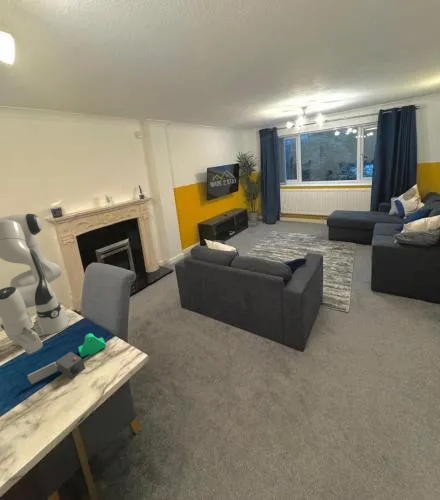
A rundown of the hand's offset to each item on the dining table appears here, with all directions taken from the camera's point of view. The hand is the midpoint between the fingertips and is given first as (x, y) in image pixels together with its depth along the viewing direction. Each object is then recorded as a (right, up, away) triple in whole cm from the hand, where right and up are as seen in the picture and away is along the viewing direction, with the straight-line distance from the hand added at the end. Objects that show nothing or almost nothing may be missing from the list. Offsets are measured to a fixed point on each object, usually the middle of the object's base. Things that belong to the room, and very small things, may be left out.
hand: (29, 352), depth 111 cm
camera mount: (+15, -9, +25) cm, 30 cm away
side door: (+1, -15, +8) cm, 17 cm away
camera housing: (+12, -13, +12) cm, 21 cm away
